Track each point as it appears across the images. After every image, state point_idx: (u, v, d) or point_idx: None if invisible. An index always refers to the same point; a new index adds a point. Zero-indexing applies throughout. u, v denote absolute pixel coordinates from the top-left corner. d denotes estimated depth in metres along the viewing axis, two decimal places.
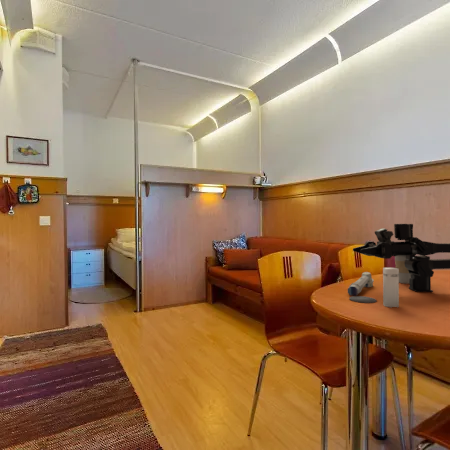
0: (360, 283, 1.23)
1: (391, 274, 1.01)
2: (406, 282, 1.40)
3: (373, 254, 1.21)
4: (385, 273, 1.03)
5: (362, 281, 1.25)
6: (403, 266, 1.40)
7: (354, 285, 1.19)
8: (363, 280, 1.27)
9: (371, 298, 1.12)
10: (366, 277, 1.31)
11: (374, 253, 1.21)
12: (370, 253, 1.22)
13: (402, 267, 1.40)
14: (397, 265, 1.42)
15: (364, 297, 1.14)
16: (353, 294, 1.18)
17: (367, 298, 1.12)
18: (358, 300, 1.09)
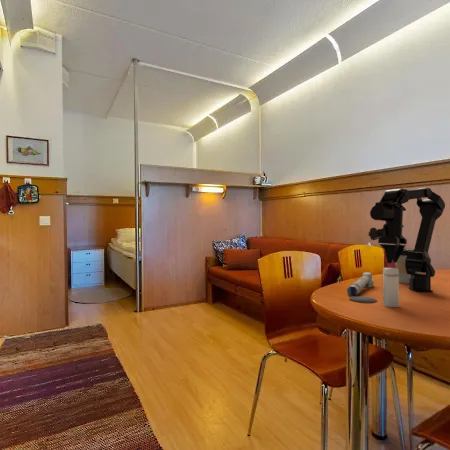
0: (360, 283, 1.23)
1: (391, 274, 1.01)
2: (406, 282, 1.40)
3: (393, 252, 1.12)
4: (385, 273, 1.03)
5: (362, 281, 1.25)
6: (403, 266, 1.40)
7: (354, 285, 1.19)
8: (363, 280, 1.26)
9: (371, 298, 1.12)
10: (366, 277, 1.31)
11: (392, 251, 1.12)
12: (392, 255, 1.12)
13: (402, 267, 1.40)
14: (397, 265, 1.42)
15: (364, 297, 1.14)
16: (353, 294, 1.18)
17: (367, 298, 1.12)
18: (358, 300, 1.09)
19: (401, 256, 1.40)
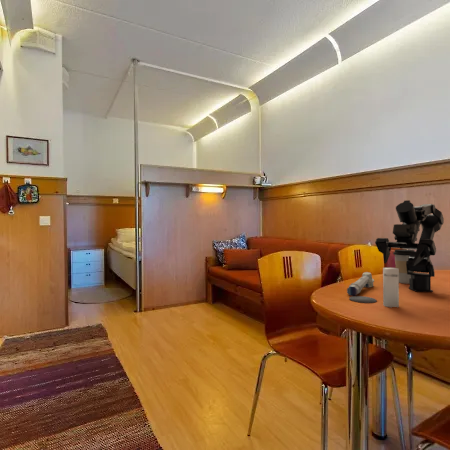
0: (360, 283, 1.22)
1: (391, 274, 1.01)
2: (406, 282, 1.40)
3: (421, 258, 1.07)
4: (385, 273, 1.03)
5: (362, 281, 1.25)
6: (403, 266, 1.40)
7: (354, 285, 1.19)
8: (363, 280, 1.26)
9: (371, 298, 1.12)
10: (366, 277, 1.31)
11: (421, 257, 1.07)
12: (419, 260, 1.06)
13: (402, 267, 1.40)
14: (397, 265, 1.42)
15: (364, 297, 1.14)
16: (352, 294, 1.18)
17: (367, 298, 1.12)
18: (358, 300, 1.09)
19: (401, 256, 1.40)
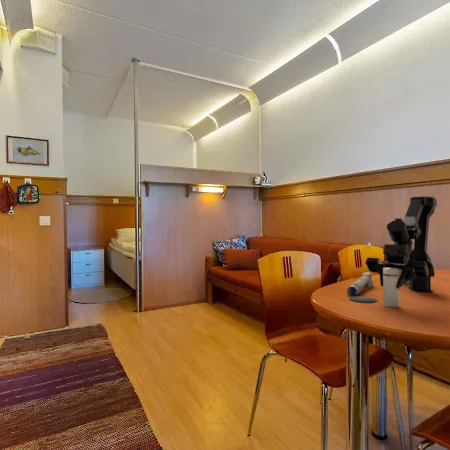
0: (360, 283, 1.22)
1: (391, 274, 1.01)
2: (406, 282, 1.40)
3: (406, 280, 1.02)
4: (385, 273, 1.03)
5: (362, 281, 1.25)
6: None
7: (353, 285, 1.19)
8: (363, 280, 1.26)
9: (371, 298, 1.12)
10: (366, 277, 1.31)
11: (406, 279, 1.02)
12: (404, 282, 1.02)
13: None
14: None
15: (364, 297, 1.14)
16: (352, 294, 1.18)
17: (367, 298, 1.12)
18: (358, 300, 1.09)
19: None
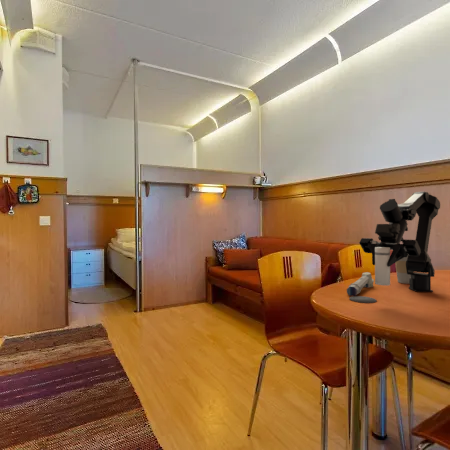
0: (360, 283, 1.22)
1: (382, 252, 1.03)
2: (406, 282, 1.40)
3: (397, 259, 1.04)
4: (376, 252, 1.05)
5: (362, 281, 1.25)
6: (403, 266, 1.40)
7: (353, 285, 1.19)
8: (363, 280, 1.26)
9: (371, 298, 1.12)
10: (366, 277, 1.30)
11: (397, 257, 1.04)
12: (395, 260, 1.03)
13: (402, 267, 1.40)
14: (397, 265, 1.42)
15: (364, 297, 1.14)
16: (352, 294, 1.18)
17: (367, 298, 1.12)
18: (358, 300, 1.09)
19: None
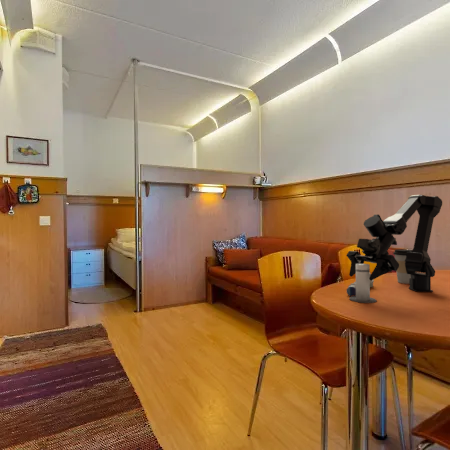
0: None
1: (360, 269, 1.09)
2: (406, 282, 1.40)
3: (381, 273, 1.07)
4: (356, 268, 1.11)
5: None
6: (403, 266, 1.40)
7: (353, 285, 1.19)
8: None
9: (371, 298, 1.12)
10: None
11: (381, 272, 1.07)
12: (379, 275, 1.07)
13: (402, 267, 1.40)
14: None
15: None
16: (352, 294, 1.18)
17: None
18: (358, 300, 1.09)
19: (401, 256, 1.40)
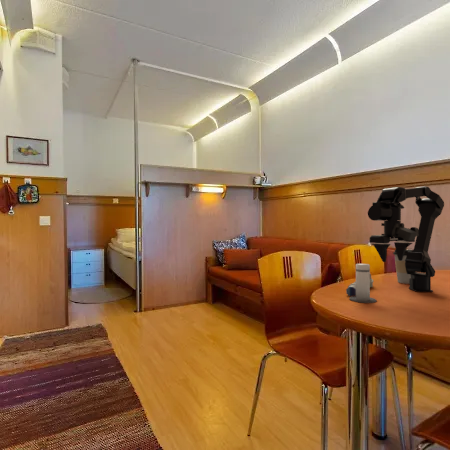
0: None
1: (361, 269, 1.09)
2: (406, 282, 1.40)
3: None
4: (356, 268, 1.11)
5: None
6: (403, 266, 1.40)
7: (353, 285, 1.18)
8: None
9: (371, 298, 1.12)
10: None
11: None
12: None
13: (402, 267, 1.40)
14: (397, 265, 1.42)
15: None
16: (352, 294, 1.17)
17: None
18: (358, 300, 1.09)
19: None
